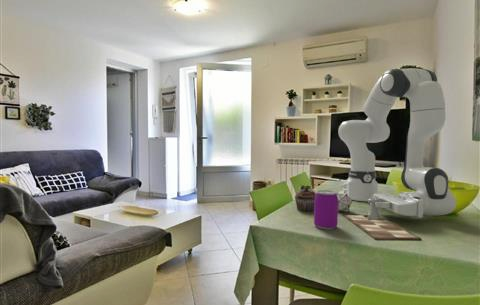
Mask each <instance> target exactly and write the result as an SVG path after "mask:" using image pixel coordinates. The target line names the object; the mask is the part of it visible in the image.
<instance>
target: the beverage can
mask: <svg viewBox="0 0 480 305" xmlns="http://www.w3.org/2000/svg"><path fill="white" fill-rule="evenodd" d="M315 193H316V196H315V204H314V211H313V214H314V215H313V224H314V226H316V227H317V229H321V230H327V231H329V230H335V229H336V227H338V220H339V219H338V217H339V216H338V214H339V210H338V197H337V194H338V193H337V192H336V191H334V190H329V189H328V190H327V189H324V190H323V189H321V190H320V189H319V190H317V191H316V192H315Z"/></svg>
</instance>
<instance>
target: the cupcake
mask: <svg viewBox="0 0 480 305" xmlns="http://www.w3.org/2000/svg"><path fill="white" fill-rule="evenodd" d="M316 193H317V192H315V191H314V189H313V188H312V187H311V185H300V186H299V188H298V190H297V191H296V194H295V196H294V200H295V205H296V209H297V210H298V211H300V212H307V213H312V212H313V213H314V204H315V196H316Z"/></svg>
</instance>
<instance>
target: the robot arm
mask: <svg viewBox="0 0 480 305" xmlns="http://www.w3.org/2000/svg"><path fill="white" fill-rule="evenodd" d="M437 77H438V76H437V75H436V73H435V72H433V71H431V70H428V69H426V68H423V69H421V68H416V67H415V68H414V67H413V68H412V67H410V68H392V69H389V70H386V71H385V72H384V73H383V74H382V75H381V76H380V77H379V78H378V80H377V82H376V83H375V84H374V86H373V87H372V88H371V91H370V93H369V95H368V97H367V98H366V100H365V103H364V104H363V113H364V114H365V115H366V117H367V118H366V119H364V120H363V119H362V120H361V119H351V120H346V121H342V123H340V125H339V126H338V131H337V132H338V133H337V134H338V137H339V138H340V140H341V141H343V142H344V144H345V145H346V147H347V148H348V150H349V154H350V170H349V173H348V178H347V179H346V180H345V181H344V182H343V183H342V184H341V189H342V190H340V191H338V193H344V192H346V193H345V194H347V196H348V197H349V198H351V199H352V200H355V201H356V202H357V201H358V202H367V204H369V205H370V203H371V202H370V199H371V197H373V198H374V197H375V199H376V198H378V200H379V202H374V206H375V207H378V208H381V209H385V210H388V211H390V212H393V213H395V214H397V215H400V216H406V217H407V216H408V217H414V218H418V219H421V218H423V217H424V216H423V215H425V216H444V215H448V214H451V213H452V212H454V211H455V209H456V207H457V199H456V196H455V195H454V194H453V193H452V191H451V189H450V186H449V177H448V174H447V173H446V172H445V171H444V170H443V169H441V168H439V167H430V166H428V167H427V166H424V163H423V162H424V150H425V144H426V142H427V141H428V140H429V139H430V138H432V136H434V135H435V134H438V133H439V132H440V131H441V130H442V129H443V127H444V126H445V123H446V104H445V103H446V102H445V97H444V96H445V95H444V91H443V88H442V86H441V85H442V84H440V83H439V82H438V78H437ZM398 98H400V99H401V98H407V99H408V100H409V109H410V110H409V111H410V112H409V114H410V117H409V118H410V119H409V120H410V121H409V128H408V131H407V136H406V143H405V144H406V145H405V156H404V157H405V160H404V165H403V166H404V167H403V168H402V169H403V170H402V172H401V178H400V179H401V183H402V185H403V186H404V188H406V189H407V190H409V189H410V190H409V191H401V192H400V193H399V194H398V195H394V194H392V193H391V194H390V193H379V184H378V182H377V181H376V175H377V172H376V168H375V167H376V155H375V154H374V152H372V151H371V150H369V149H368V146H367V143H368V144H369V143H372V144H374V143H380V142H384V141H386V140H387V139H388V138H389V137H390V133H391V129H390V126H389V124H388V123H387V117H388V115H389V113H390V111H391V109H392V108H393V106H394V104H395V103H396V101H397V99H398ZM412 190H414V191H412Z"/></svg>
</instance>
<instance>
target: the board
mask: <svg viewBox="0 0 480 305" xmlns="http://www.w3.org/2000/svg"><path fill="white" fill-rule="evenodd" d="M342 216H343V218H345V219H346V220H348V222H349V221H350V223H352V224H353V225H355V226H356V227H358V228H359V229H360V230H361V231H363V232H364V233H365V234H367V235H368V236H370V237H371V238H372V239H374V240H376V241H381V240H382V241H383V240H385V241H387V240H388V241H422V237H420V236H418V235H416V234H414V233H412V231H409V230H407V229H405V228H403V227H402V226H400V225H398V224H396V223H395V222H392V221H391V220H389V219H387V218H385V217H383V216H381V215H380V217H379V218H380V219H379V220H370V219H368V218H367V217H368V214H343V215H342Z"/></svg>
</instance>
